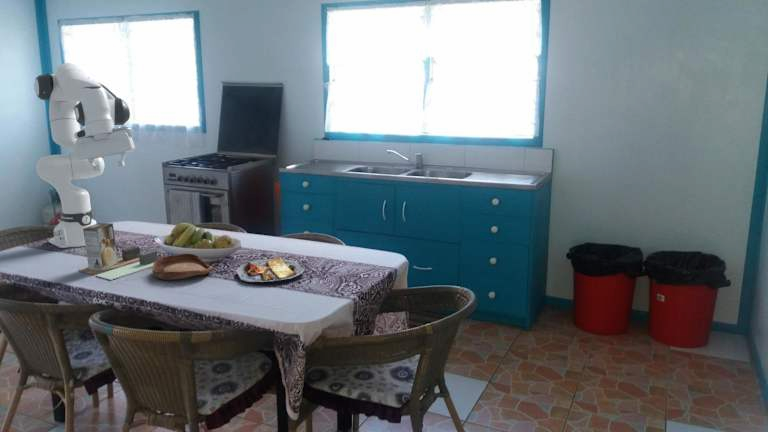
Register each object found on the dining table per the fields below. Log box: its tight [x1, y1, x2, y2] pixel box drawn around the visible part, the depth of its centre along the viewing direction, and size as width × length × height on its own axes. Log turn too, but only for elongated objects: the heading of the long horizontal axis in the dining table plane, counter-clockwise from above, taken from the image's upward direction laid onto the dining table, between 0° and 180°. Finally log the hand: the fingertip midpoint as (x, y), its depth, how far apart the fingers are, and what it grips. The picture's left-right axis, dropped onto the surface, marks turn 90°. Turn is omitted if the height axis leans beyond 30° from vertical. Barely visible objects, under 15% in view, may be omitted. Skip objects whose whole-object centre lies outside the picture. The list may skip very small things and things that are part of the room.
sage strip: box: [95, 249, 158, 281], centre depth 228 cm, size 9×22×4 cm, turn 148°
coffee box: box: [83, 222, 118, 271], centre depth 230 cm, size 9×6×16 cm
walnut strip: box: [78, 245, 141, 276], centre depth 234 cm, size 9×22×4 cm, turn 148°
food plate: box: [235, 256, 305, 283], centre depth 222 cm, size 25×23×4 cm
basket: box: [152, 252, 213, 281], centre depth 223 cm, size 22×20×5 cm
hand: (109, 168), depth 219 cm, fingers open, 8 cm apart
